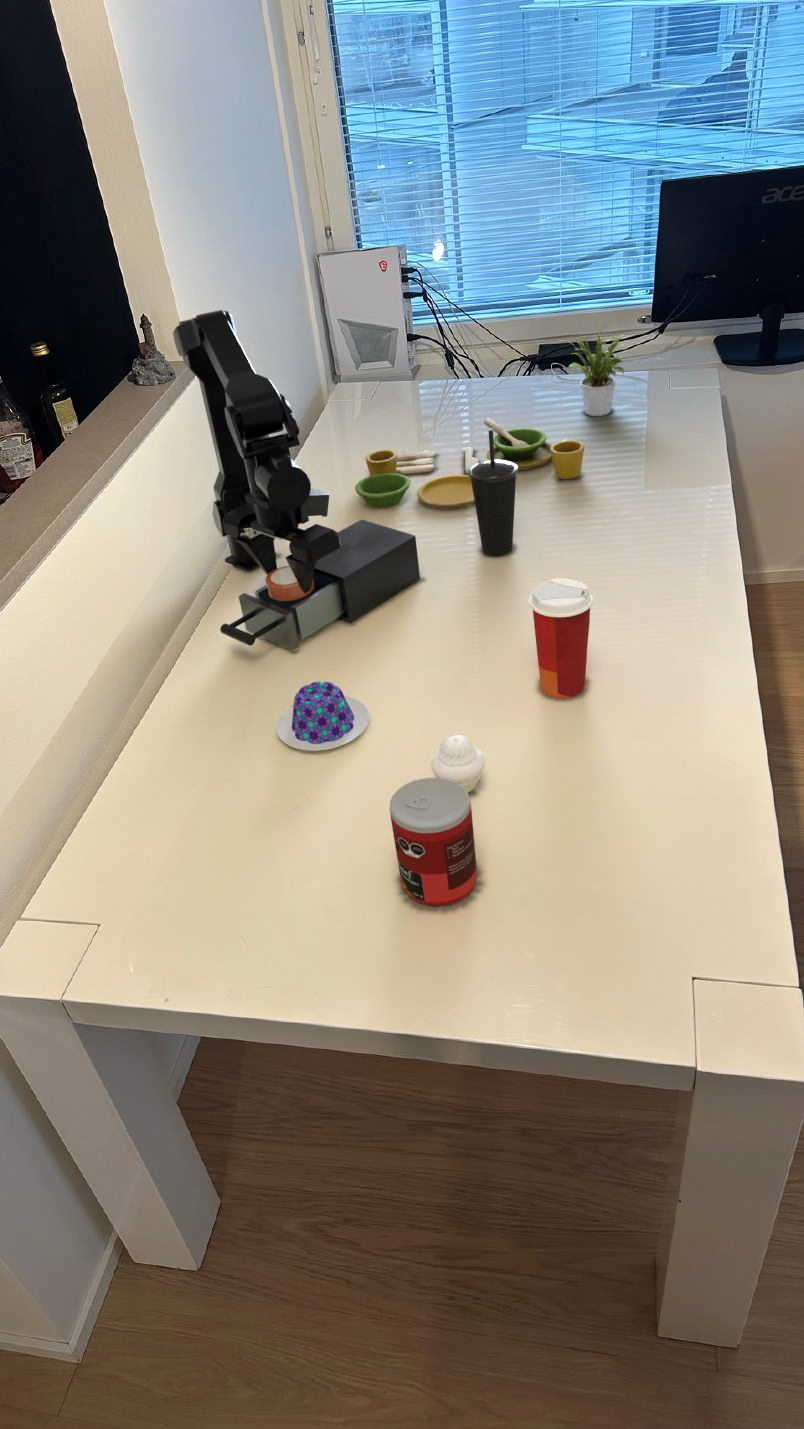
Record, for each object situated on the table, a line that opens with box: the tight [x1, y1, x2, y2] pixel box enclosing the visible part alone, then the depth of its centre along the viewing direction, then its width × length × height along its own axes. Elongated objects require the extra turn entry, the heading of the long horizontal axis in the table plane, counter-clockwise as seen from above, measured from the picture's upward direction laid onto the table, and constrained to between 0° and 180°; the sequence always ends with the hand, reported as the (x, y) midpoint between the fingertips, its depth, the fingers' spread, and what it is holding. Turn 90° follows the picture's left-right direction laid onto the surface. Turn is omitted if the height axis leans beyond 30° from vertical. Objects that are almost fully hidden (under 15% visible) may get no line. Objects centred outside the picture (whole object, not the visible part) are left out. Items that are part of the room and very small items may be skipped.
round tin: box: [264, 564, 314, 601], centre depth 146 cm, size 7×7×3 cm
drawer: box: [219, 572, 346, 651], centre depth 147 cm, size 20×10×6 cm, turn 138°
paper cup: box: [527, 577, 594, 699], centre depth 127 cm, size 8×8×14 cm
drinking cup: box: [467, 428, 519, 557], centre depth 158 cm, size 8×8×20 cm
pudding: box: [275, 681, 370, 752], centre depth 128 cm, size 12×12×5 cm
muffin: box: [430, 734, 486, 794], centre depth 115 cm, size 6×6×7 cm
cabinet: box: [314, 518, 421, 624], centre depth 155 cm, size 16×12×8 cm
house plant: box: [557, 329, 628, 417], centre depth 203 cm, size 14×14×16 cm
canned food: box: [389, 777, 478, 907], centre depth 102 cm, size 8×8×11 cm
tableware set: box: [354, 417, 585, 509], centre depth 186 cm, size 41×28×6 cm
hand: (290, 585), depth 146 cm, fingers closed on round tin, 7 cm apart
